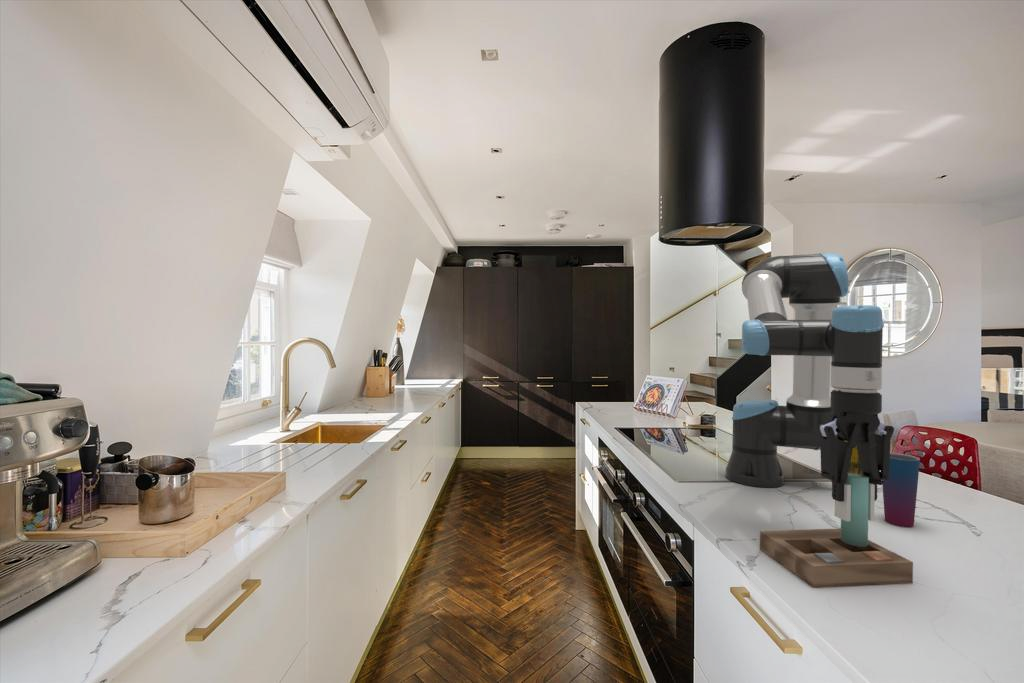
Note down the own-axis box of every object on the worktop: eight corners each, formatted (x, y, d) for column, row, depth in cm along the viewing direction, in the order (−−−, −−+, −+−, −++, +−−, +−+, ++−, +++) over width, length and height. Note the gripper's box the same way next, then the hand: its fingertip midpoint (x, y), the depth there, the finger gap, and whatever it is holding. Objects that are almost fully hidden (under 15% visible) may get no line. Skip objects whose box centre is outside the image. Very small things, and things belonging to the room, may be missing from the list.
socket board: (759, 549, 90) (760, 529, 90) (845, 545, 92) (845, 526, 92) (813, 587, 76) (813, 564, 76) (912, 582, 78) (912, 560, 78)
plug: (835, 537, 86) (836, 473, 86) (855, 536, 86) (855, 472, 86) (853, 547, 82) (853, 479, 82) (873, 546, 82) (874, 479, 83)
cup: (926, 530, 100) (927, 461, 100) (890, 527, 101) (891, 459, 101) (906, 518, 107) (907, 453, 107) (873, 516, 108) (874, 451, 108)
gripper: (828, 392, 80) (827, 527, 80) (917, 392, 81) (916, 525, 81) (797, 388, 87) (796, 511, 87) (880, 388, 89) (878, 509, 89)
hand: (854, 517), depth 84 cm, fingers closed on plug, 4 cm apart
